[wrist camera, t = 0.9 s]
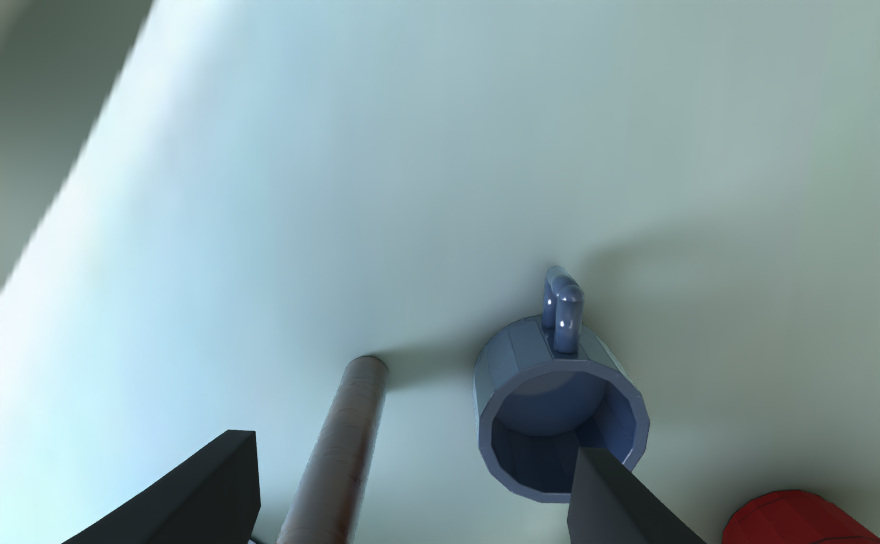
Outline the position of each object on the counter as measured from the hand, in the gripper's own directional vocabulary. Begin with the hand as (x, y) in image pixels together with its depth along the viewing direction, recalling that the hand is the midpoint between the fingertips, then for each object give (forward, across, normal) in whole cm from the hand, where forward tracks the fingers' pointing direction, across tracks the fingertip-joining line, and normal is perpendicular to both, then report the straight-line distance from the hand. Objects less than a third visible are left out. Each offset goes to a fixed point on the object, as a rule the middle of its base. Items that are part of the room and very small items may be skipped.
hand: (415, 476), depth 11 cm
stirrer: (+10, +3, +3) cm, 11 cm away
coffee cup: (+10, -5, +2) cm, 12 cm away
